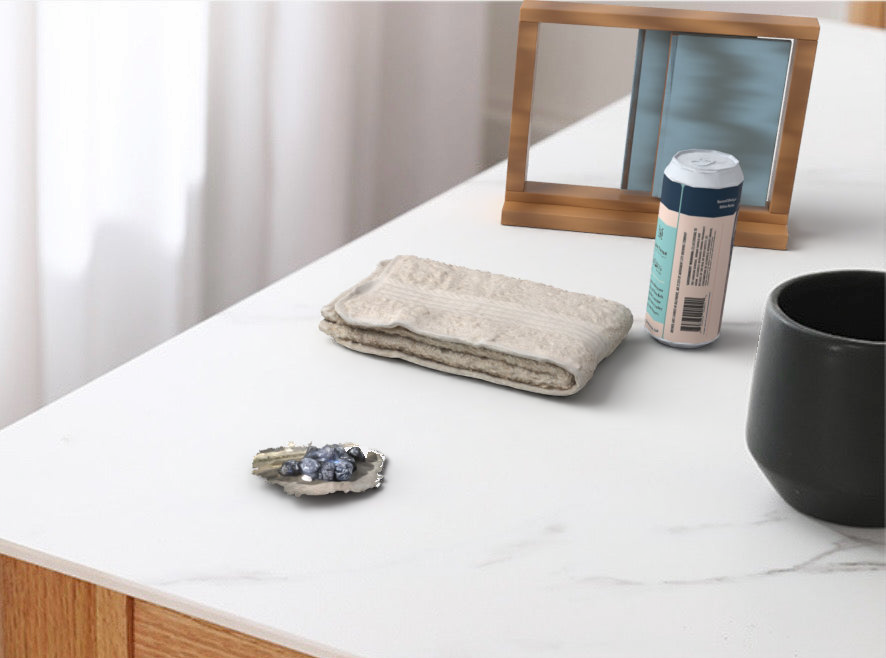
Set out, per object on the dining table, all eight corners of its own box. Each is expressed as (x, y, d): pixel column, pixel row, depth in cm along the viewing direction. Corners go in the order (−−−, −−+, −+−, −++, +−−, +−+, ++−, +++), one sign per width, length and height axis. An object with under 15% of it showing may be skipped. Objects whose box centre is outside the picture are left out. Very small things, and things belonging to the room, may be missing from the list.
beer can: (733, 337, 102) (761, 160, 96) (691, 359, 99) (718, 177, 93) (670, 315, 105) (694, 141, 99) (628, 335, 102) (650, 157, 96)
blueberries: (226, 472, 85) (226, 441, 84) (333, 427, 90) (334, 398, 89) (310, 521, 81) (311, 490, 80) (418, 472, 86) (420, 441, 85)
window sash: (731, 177, 123) (755, 19, 117) (733, 199, 118) (757, 35, 113) (622, 168, 124) (640, 11, 119) (620, 189, 120) (638, 27, 114)
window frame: (781, 217, 121) (815, 10, 114) (786, 250, 115) (822, 33, 108) (509, 194, 125) (526, -8, 118) (500, 224, 119) (517, 14, 112)
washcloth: (386, 282, 109) (388, 240, 108) (638, 335, 102) (643, 291, 100) (308, 345, 100) (309, 300, 98) (579, 409, 92) (584, 361, 91)
